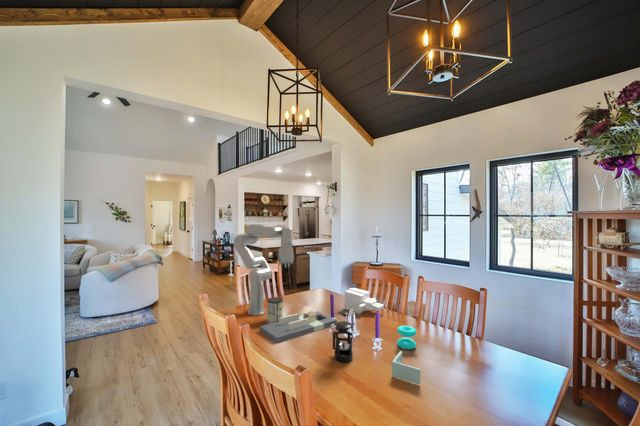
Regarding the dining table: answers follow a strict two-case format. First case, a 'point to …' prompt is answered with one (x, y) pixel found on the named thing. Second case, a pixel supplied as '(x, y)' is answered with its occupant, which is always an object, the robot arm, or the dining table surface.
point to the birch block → (310, 316)
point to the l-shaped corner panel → (405, 370)
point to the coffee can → (274, 309)
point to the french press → (343, 346)
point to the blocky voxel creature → (360, 301)
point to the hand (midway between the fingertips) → (285, 273)
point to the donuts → (406, 332)
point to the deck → (295, 326)
